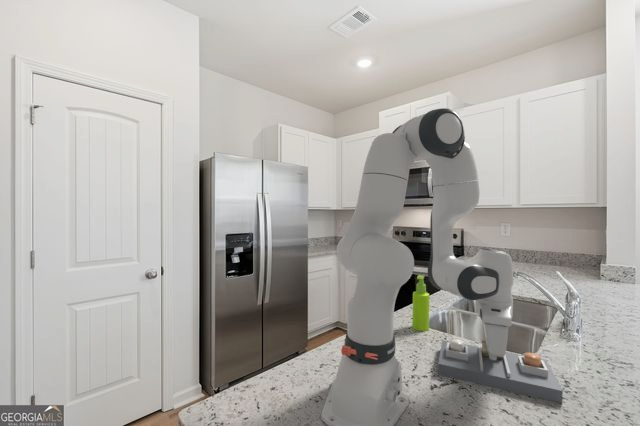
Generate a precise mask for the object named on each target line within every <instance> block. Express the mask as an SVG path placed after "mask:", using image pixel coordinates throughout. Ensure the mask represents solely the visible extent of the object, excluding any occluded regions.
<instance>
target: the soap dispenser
mask: <svg viewBox="0 0 640 426" xmlns="http://www.w3.org/2000/svg"><path fill="white" fill-rule="evenodd" d="M424 279H425V274H418V275H417V277H416V280H418V282H417V283H416V287H415V289H416V291H413V292H412V323H411V324H412V329H414V330H415V331H418V332H419V331H420V332H427V331H429V330H430V293H428V292H427V284H426V283H424V282H425V281H424Z"/></svg>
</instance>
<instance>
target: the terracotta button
mask: <svg viewBox="0 0 640 426" xmlns="http://www.w3.org/2000/svg"><path fill="white" fill-rule="evenodd" d="M523 355H524V363H525V364H526V365H528V366H533V367H538V368H540V367H541V359H542V357H541V356H540V355H538V354H536V353H533V352H524V354H523Z"/></svg>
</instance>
